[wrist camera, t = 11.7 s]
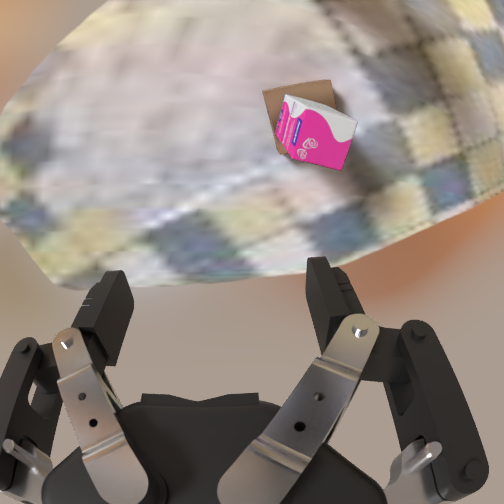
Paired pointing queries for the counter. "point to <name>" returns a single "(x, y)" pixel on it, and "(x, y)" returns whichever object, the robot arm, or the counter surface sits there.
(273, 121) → the brown cardboard box
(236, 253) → the counter surface
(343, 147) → the supplement box
